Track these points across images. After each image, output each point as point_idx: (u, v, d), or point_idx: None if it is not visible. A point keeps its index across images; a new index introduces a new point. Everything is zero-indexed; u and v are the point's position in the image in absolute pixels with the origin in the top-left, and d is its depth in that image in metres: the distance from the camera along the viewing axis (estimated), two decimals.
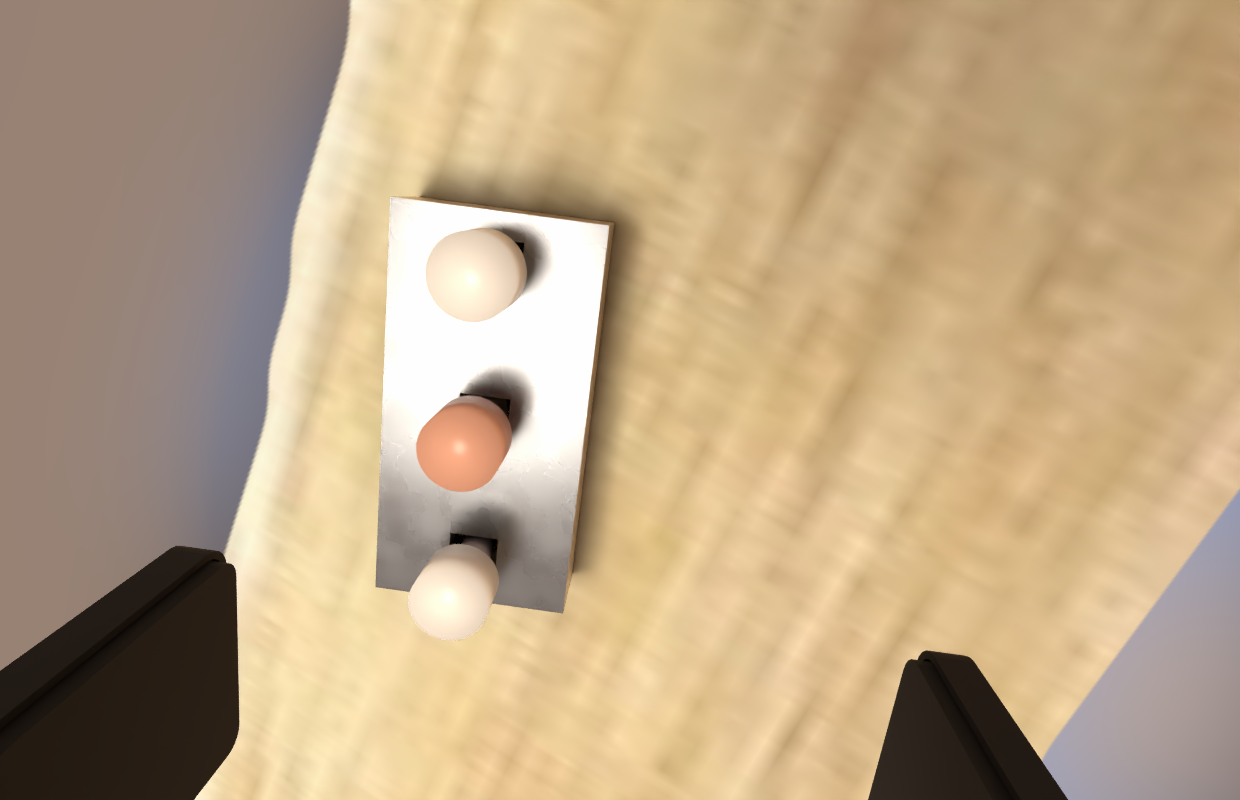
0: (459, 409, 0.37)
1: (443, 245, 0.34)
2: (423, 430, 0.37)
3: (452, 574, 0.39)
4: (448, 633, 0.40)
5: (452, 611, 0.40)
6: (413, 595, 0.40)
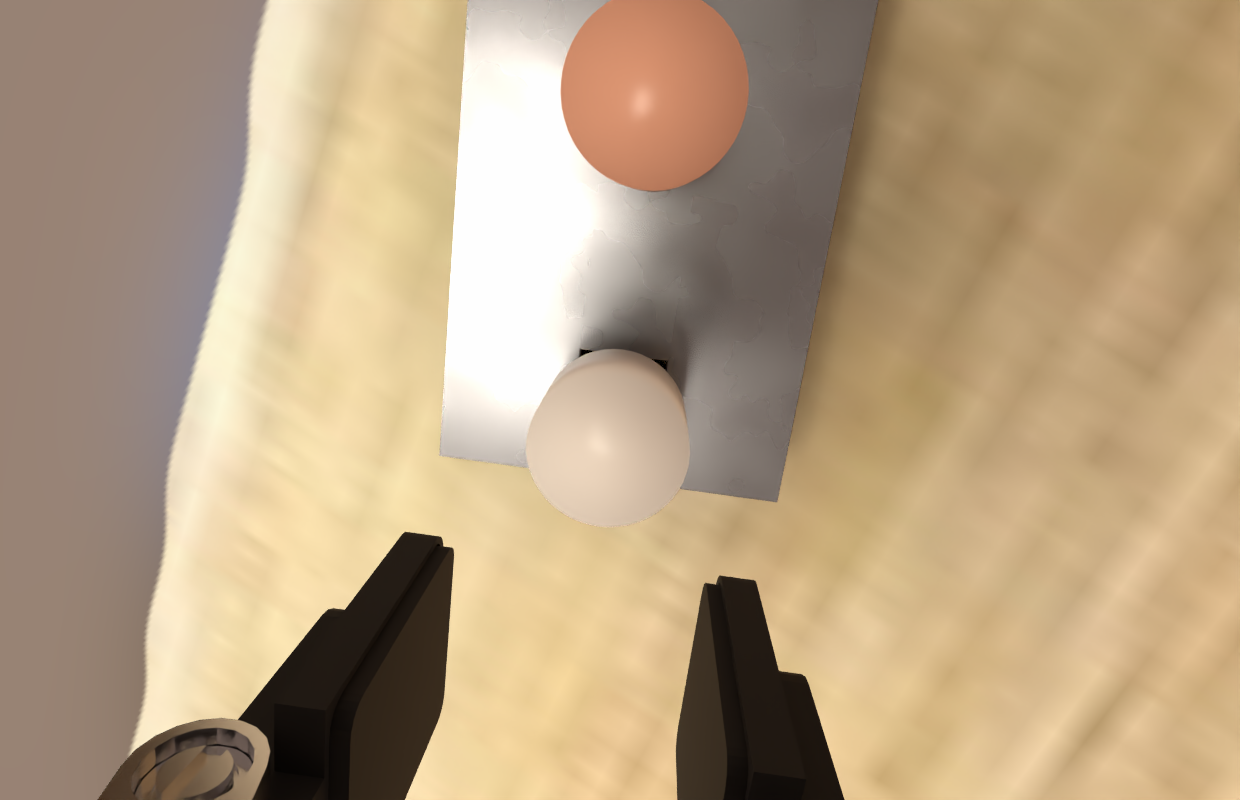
0: None
1: None
2: (579, 40, 0.17)
3: (621, 381, 0.19)
4: (605, 511, 0.20)
5: (616, 464, 0.20)
6: (537, 430, 0.19)
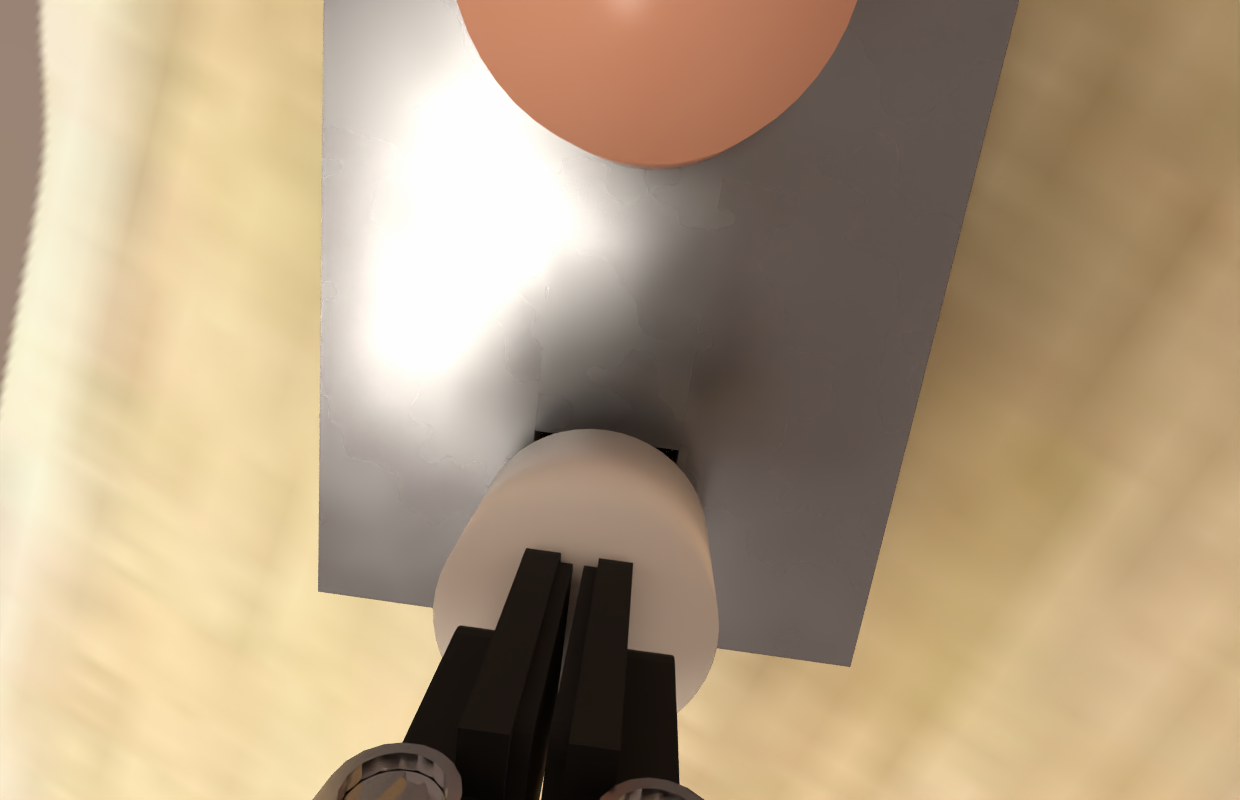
0: None
1: None
2: None
3: (598, 511, 0.11)
4: None
5: None
6: (452, 590, 0.11)
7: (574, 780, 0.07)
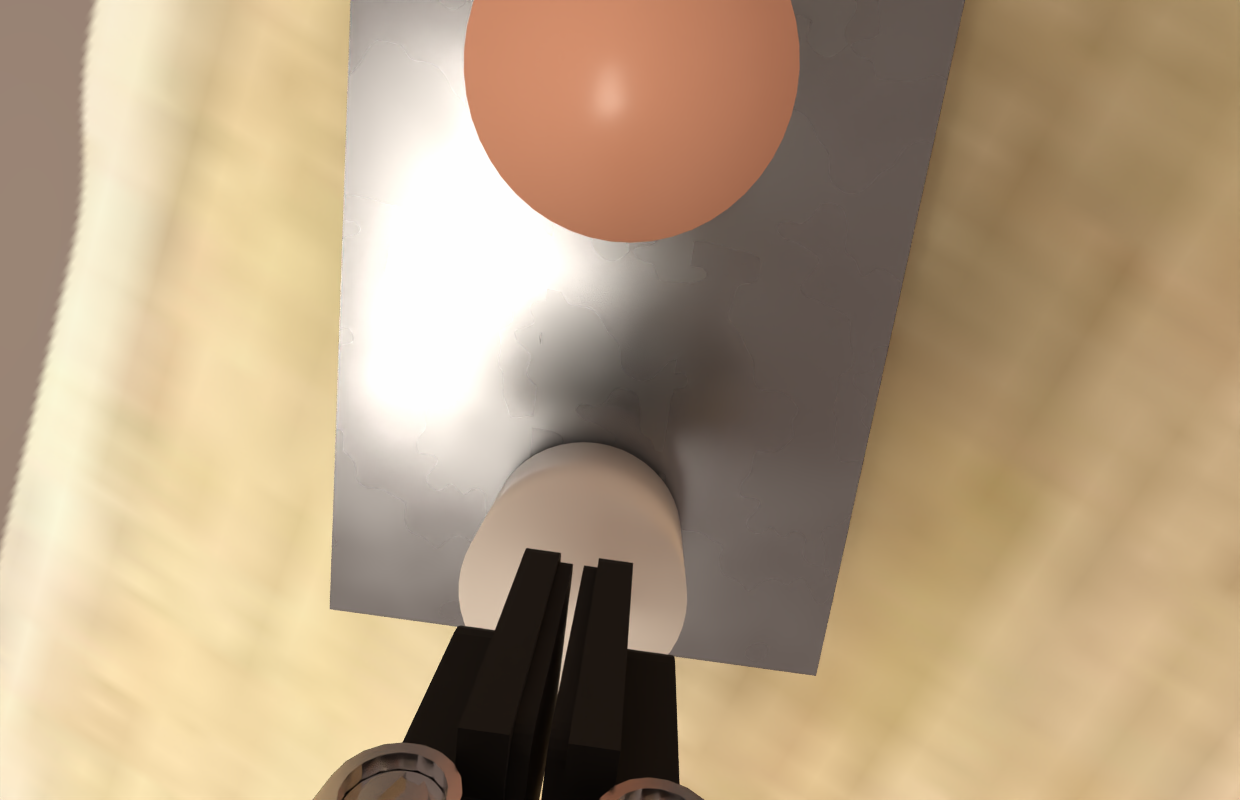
0: None
1: None
2: None
3: (590, 503, 0.13)
4: None
5: None
6: (474, 568, 0.14)
7: (575, 780, 0.07)
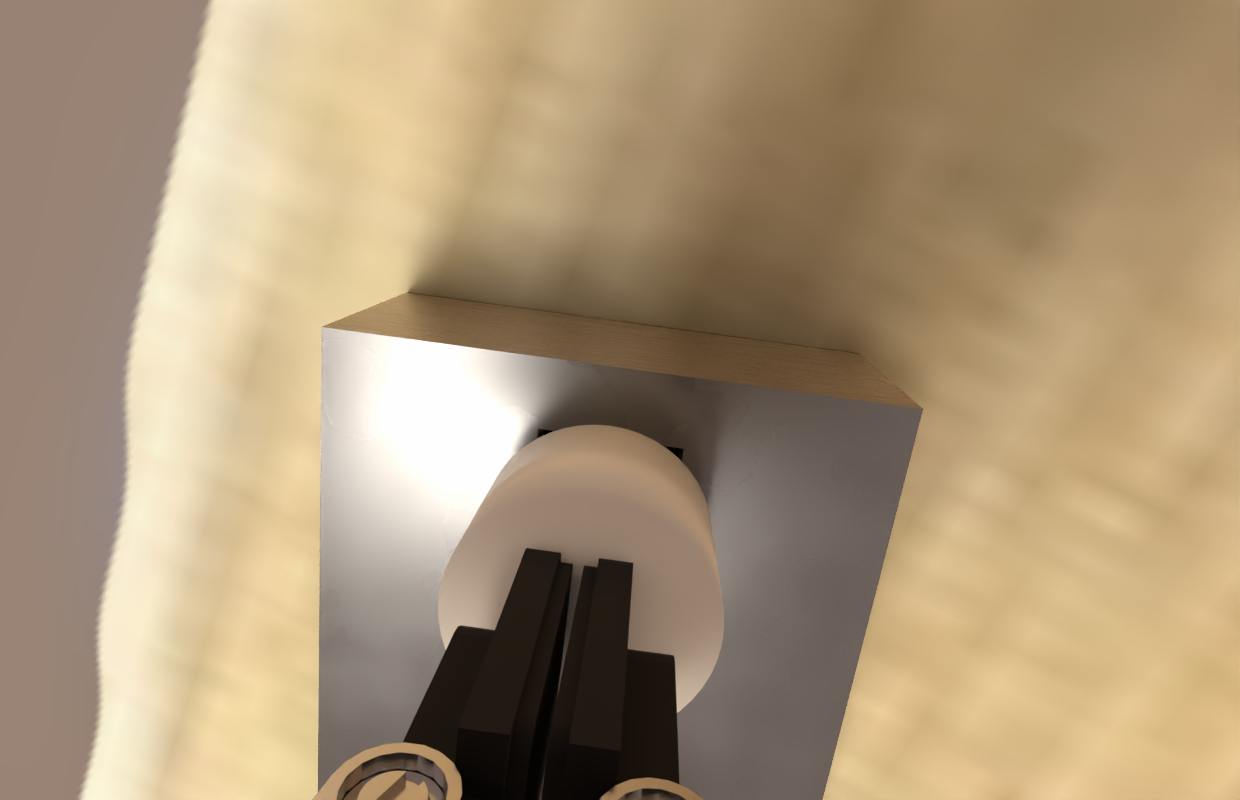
0: None
1: (496, 532, 0.11)
2: None
3: None
4: None
5: None
6: None
7: (574, 780, 0.07)
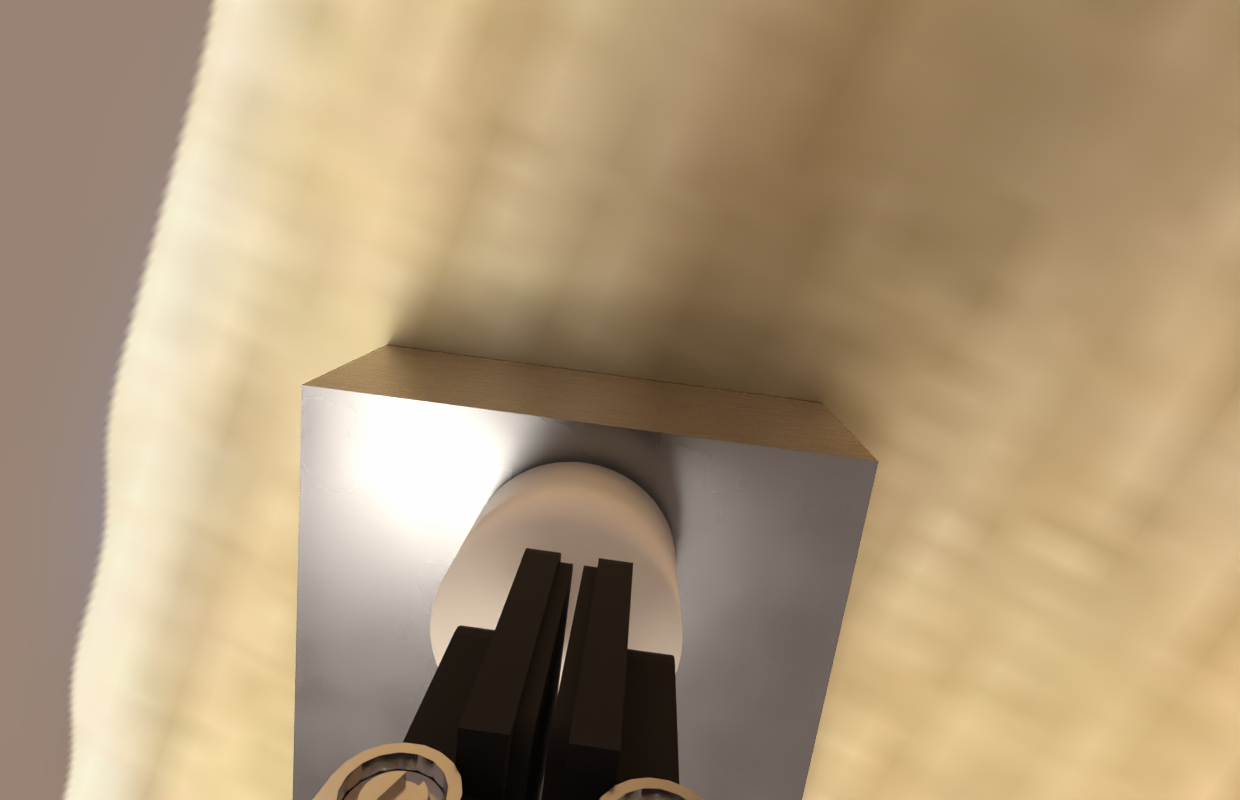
0: None
1: (482, 557, 0.12)
2: None
3: None
4: None
5: None
6: None
7: (574, 780, 0.07)
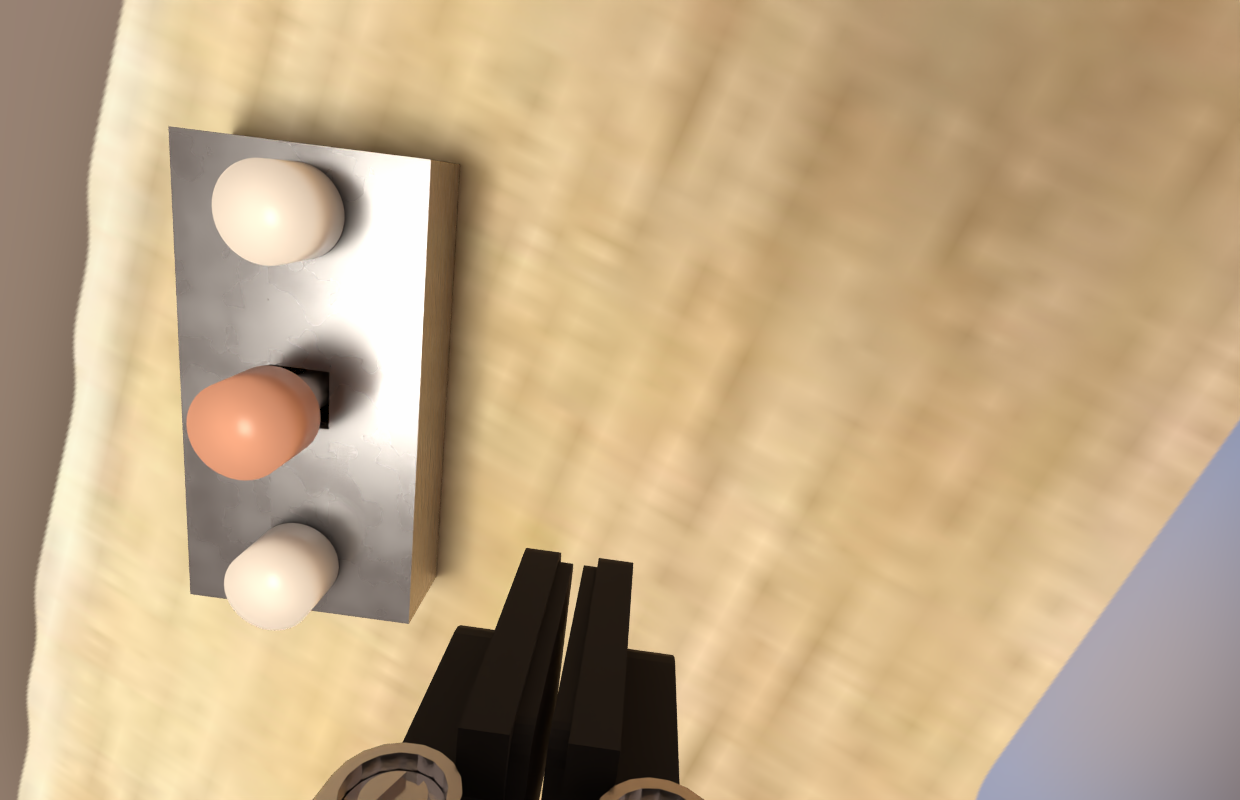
0: (235, 380, 0.30)
1: (229, 175, 0.30)
2: (193, 405, 0.30)
3: (270, 555, 0.35)
4: (271, 622, 0.36)
5: (274, 597, 0.35)
6: (229, 579, 0.35)
7: (574, 780, 0.07)
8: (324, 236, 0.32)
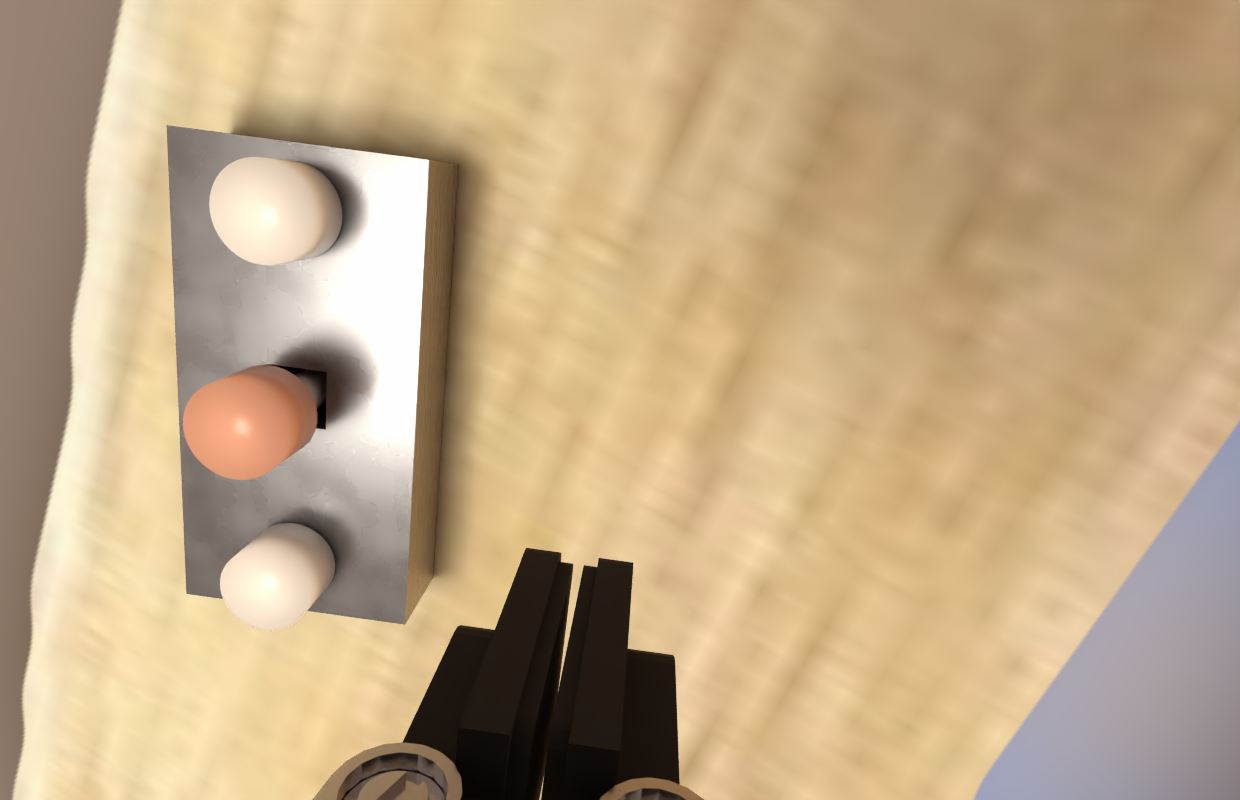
0: (232, 379, 0.30)
1: (227, 175, 0.30)
2: (190, 404, 0.30)
3: (266, 554, 0.35)
4: (267, 622, 0.36)
5: (270, 597, 0.35)
6: (225, 579, 0.35)
7: (574, 780, 0.07)
8: (322, 236, 0.32)
